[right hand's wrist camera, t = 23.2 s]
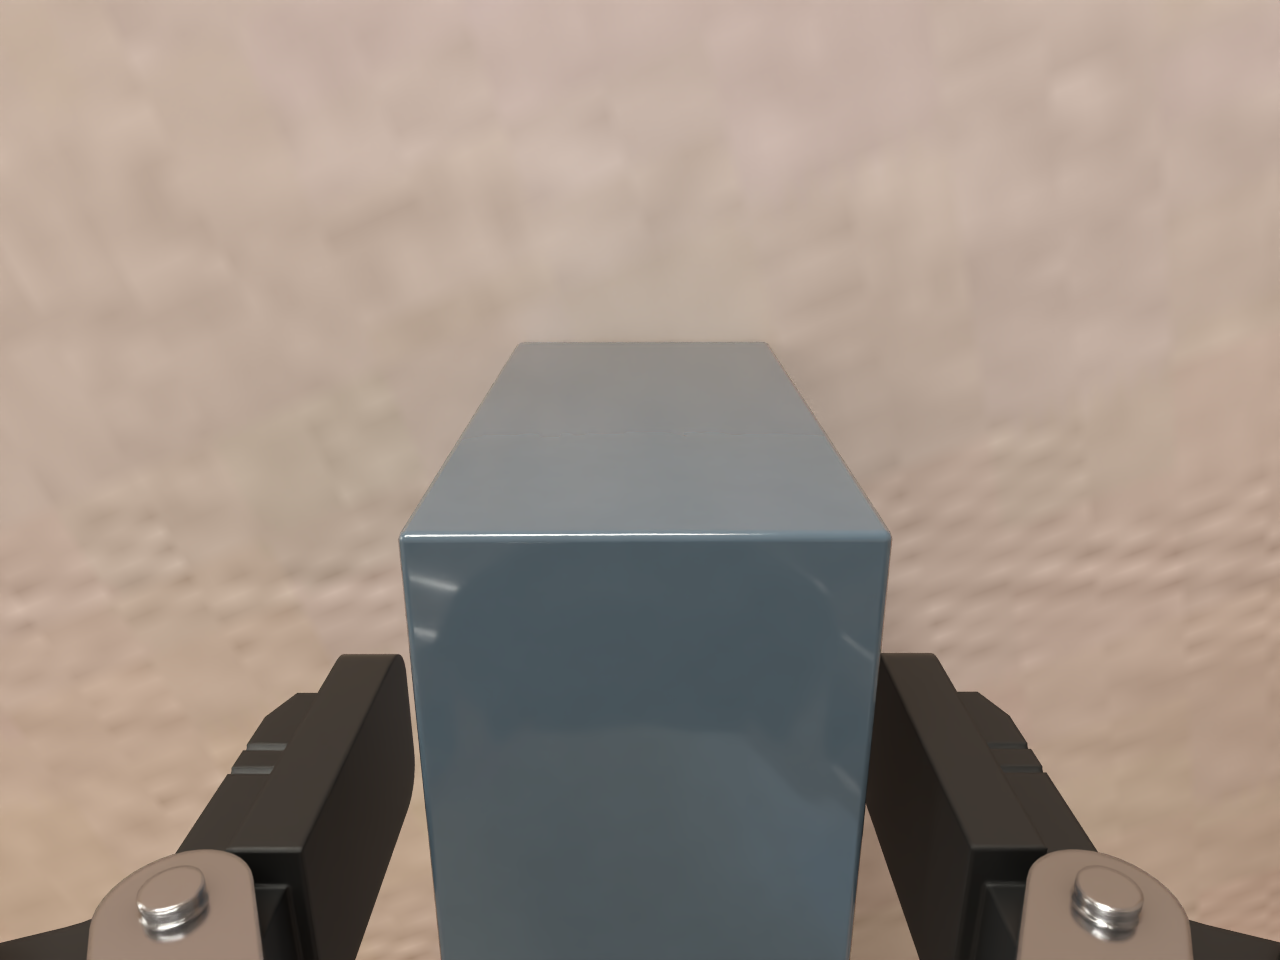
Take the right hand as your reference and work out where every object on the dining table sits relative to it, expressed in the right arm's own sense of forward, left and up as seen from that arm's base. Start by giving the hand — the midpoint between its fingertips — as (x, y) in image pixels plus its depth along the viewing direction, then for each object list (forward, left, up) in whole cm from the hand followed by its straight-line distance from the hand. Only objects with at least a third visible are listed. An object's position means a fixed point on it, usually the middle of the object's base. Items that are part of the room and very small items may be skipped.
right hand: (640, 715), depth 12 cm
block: (0, 0, -6) cm, 6 cm away
